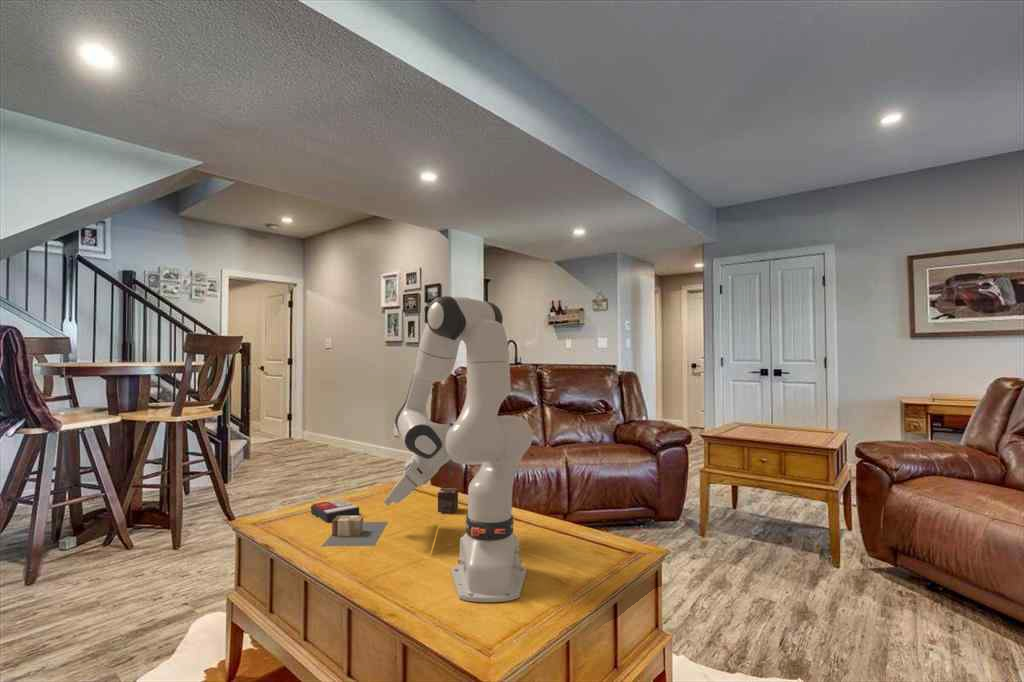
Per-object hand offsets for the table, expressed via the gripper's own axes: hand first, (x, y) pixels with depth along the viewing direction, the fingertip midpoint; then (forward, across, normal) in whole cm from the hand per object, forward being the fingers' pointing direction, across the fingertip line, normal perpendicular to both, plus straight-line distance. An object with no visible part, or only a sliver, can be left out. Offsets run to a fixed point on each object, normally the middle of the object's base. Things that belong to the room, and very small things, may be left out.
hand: (386, 502), depth 153 cm
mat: (+13, -1, +1) cm, 13 cm away
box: (-5, -24, +19) cm, 31 cm away
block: (+10, -1, 0) cm, 10 cm away
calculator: (+22, -20, -8) cm, 30 cm away
